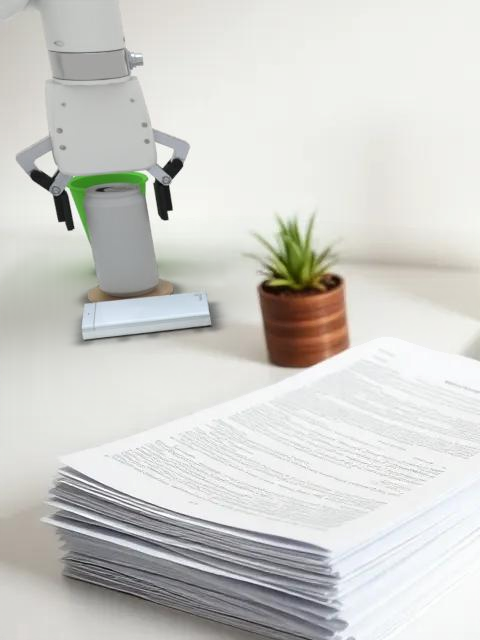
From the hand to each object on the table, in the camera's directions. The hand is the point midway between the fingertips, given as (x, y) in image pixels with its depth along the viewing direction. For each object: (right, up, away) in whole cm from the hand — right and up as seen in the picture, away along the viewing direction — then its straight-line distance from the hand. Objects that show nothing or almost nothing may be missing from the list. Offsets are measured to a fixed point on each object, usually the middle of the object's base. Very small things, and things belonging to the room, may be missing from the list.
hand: (117, 222), depth 127 cm
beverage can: (0, -8, +3) cm, 8 cm away
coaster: (0, -8, +3) cm, 8 cm away
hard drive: (+6, -12, -4) cm, 14 cm away
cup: (-5, -4, +12) cm, 14 cm away
